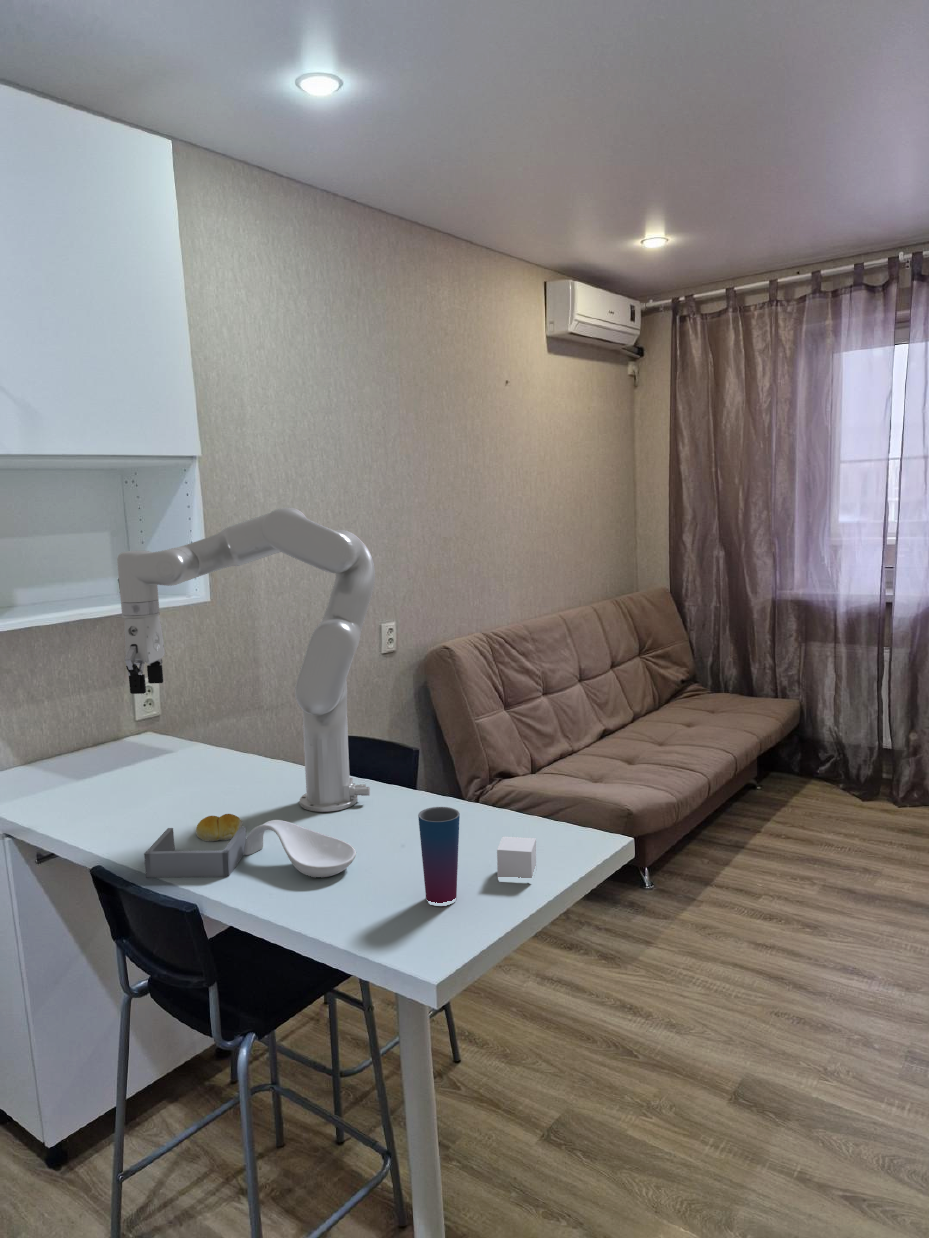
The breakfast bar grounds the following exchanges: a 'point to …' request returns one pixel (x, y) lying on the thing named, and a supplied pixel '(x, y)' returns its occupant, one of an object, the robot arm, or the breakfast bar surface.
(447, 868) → the cup
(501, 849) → the white cube
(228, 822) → the bread roll
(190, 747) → the breakfast bar surface
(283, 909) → the breakfast bar surface
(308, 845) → the spoon rest
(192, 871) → the box
